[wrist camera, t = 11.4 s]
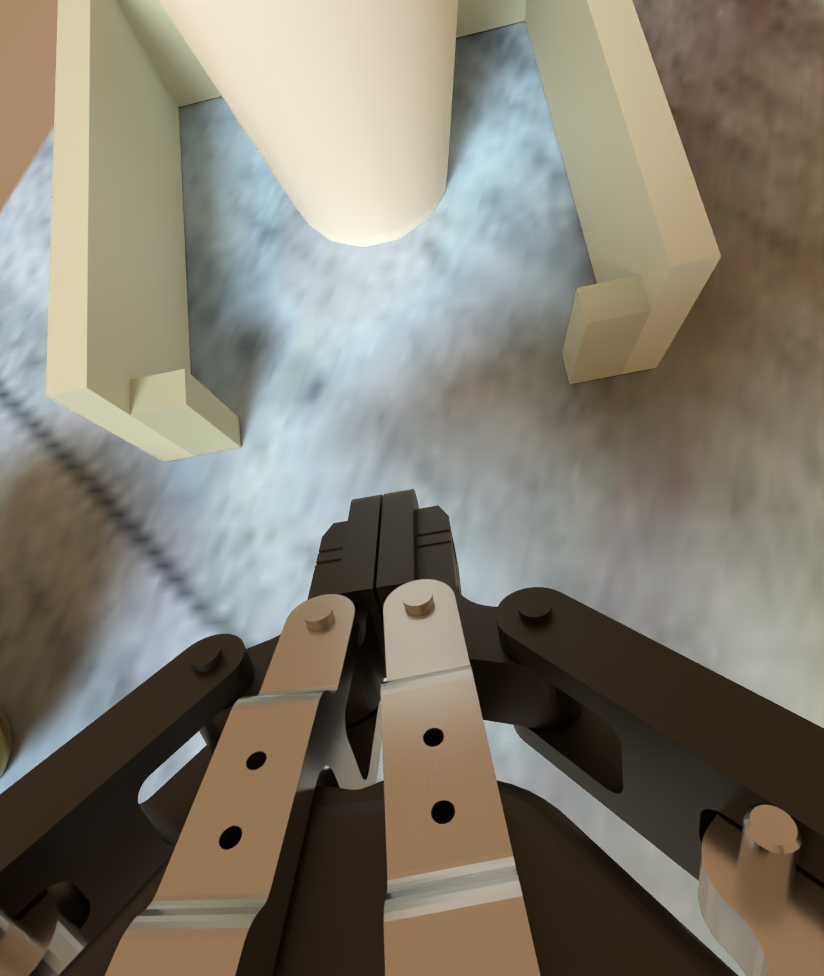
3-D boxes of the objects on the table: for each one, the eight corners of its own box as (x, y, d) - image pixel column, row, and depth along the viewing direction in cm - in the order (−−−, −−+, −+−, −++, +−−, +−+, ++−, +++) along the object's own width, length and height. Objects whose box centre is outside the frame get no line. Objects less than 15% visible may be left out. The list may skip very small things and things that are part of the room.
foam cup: (403, 53, 25) (316, -516, 13) (535, 187, 23) (585, -368, 10) (221, 173, 25) (-48, -293, 13) (334, 324, 22) (133, -80, 10)
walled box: (656, 367, 20) (721, 256, 14) (163, 462, 22) (45, 395, 16) (547, -7, 25) (562, -200, 19) (153, 93, 27) (59, -58, 21)
